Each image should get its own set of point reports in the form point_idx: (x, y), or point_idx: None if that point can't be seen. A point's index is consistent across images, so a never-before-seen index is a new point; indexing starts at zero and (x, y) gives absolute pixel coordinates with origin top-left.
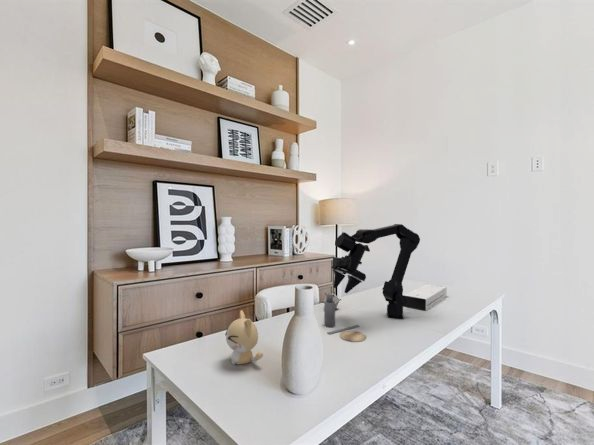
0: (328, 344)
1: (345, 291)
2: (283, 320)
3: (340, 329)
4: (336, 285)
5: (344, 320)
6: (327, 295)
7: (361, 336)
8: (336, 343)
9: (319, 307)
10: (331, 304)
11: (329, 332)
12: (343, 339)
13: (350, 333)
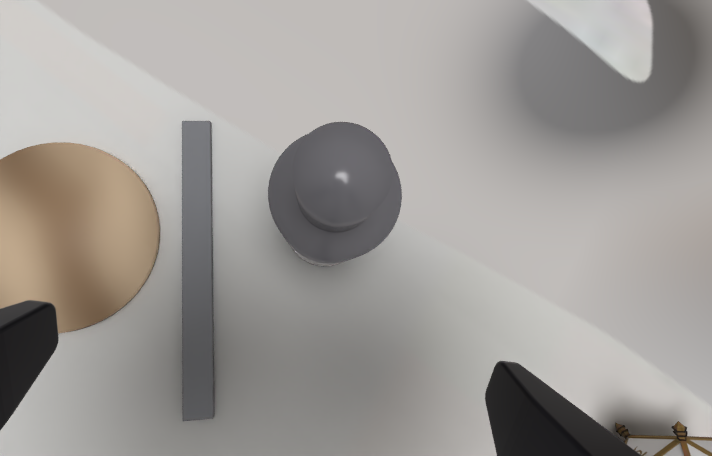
0: (57, 19)
1: (6, 311)
2: (562, 20)
3: (205, 236)
4: (508, 438)
5: (357, 397)
6: (336, 123)
7: (1, 277)
8: (38, 69)
9: (706, 408)
10: (273, 176)
11: (202, 134)
12: (56, 144)
13: (97, 246)
